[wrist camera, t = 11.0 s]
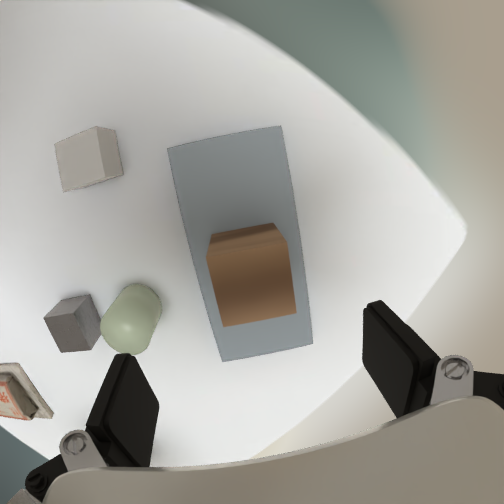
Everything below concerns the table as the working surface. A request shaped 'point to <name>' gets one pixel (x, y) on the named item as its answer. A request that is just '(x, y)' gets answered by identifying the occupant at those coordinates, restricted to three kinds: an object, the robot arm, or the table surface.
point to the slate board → (242, 226)
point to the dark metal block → (74, 324)
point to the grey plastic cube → (88, 158)
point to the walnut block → (251, 274)
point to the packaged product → (20, 395)
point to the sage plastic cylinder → (131, 319)
